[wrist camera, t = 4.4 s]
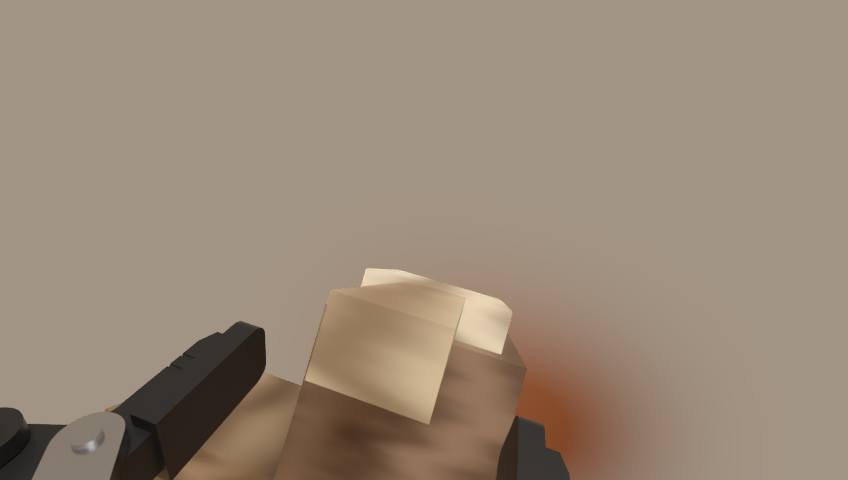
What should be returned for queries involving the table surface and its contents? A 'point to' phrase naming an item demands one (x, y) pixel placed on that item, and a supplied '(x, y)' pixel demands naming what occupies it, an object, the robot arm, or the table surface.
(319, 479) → the block
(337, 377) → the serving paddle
